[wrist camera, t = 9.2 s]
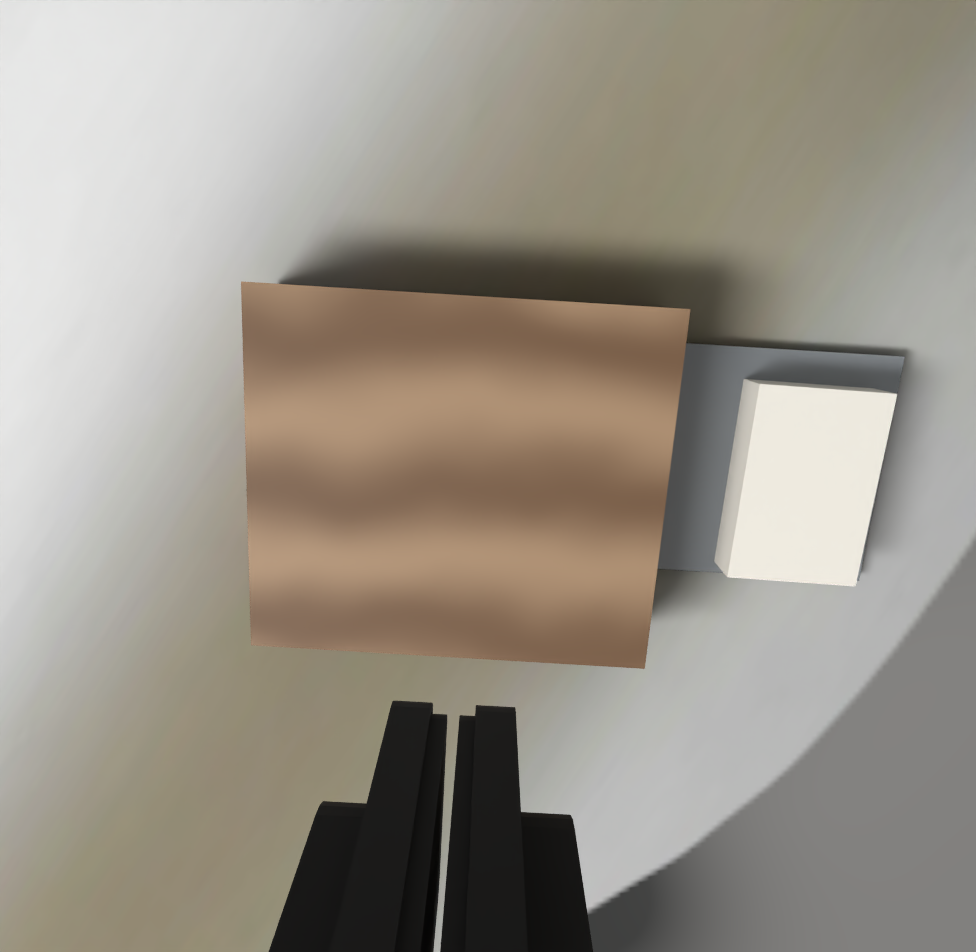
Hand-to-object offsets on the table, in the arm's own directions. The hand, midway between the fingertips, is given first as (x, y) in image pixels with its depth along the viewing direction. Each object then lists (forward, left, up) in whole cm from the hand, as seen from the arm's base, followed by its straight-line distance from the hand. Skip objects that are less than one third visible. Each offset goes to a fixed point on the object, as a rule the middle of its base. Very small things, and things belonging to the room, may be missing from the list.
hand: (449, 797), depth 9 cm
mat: (0, +14, -24) cm, 28 cm away
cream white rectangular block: (+1, +15, -22) cm, 27 cm away
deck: (+1, -1, -25) cm, 24 cm away
